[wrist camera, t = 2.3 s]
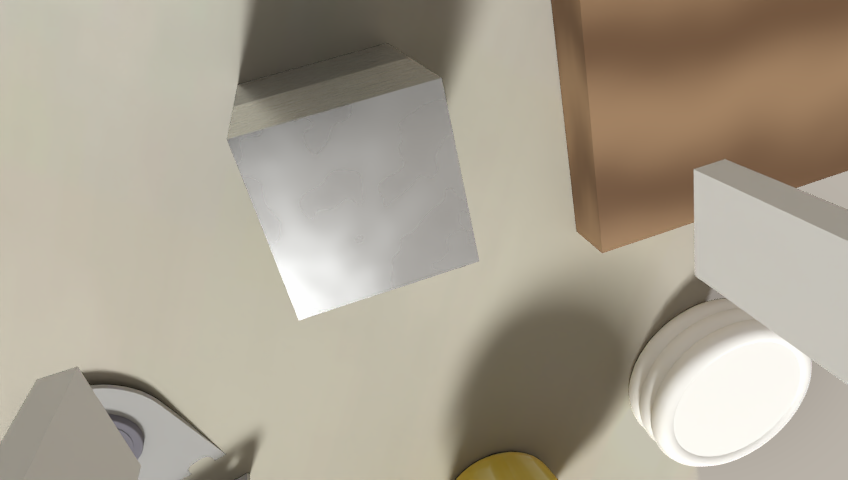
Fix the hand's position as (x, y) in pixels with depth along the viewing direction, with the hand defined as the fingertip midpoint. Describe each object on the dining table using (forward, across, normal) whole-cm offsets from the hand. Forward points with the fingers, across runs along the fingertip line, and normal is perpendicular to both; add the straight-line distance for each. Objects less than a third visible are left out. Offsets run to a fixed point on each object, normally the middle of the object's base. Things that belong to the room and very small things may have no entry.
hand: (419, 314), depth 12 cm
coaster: (+14, +17, -20) cm, 29 cm away
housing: (+14, 0, 0) cm, 14 cm away
